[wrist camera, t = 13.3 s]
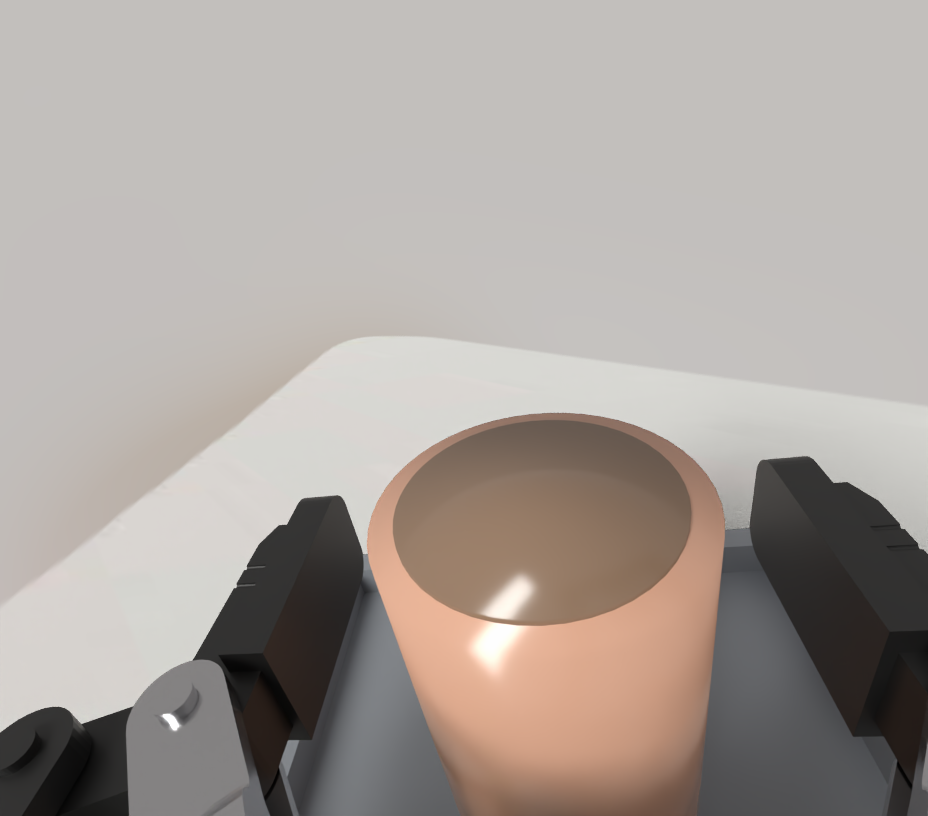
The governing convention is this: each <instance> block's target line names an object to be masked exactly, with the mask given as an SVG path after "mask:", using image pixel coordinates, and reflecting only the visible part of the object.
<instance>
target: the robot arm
mask: <svg viewBox="0 0 928 816" xmlns="http://www.w3.org/2000/svg"><path fill="white" fill-rule="evenodd" d="M750 535H751V541H752V545H753V548H754V551H755V554H756V556H757V558H758V560H759V562H760V564H761V566H762V568H763V570H764V572H765V573H766V575H767V577H768V579H769V581H770V583H771V585H772V587H773V588H774V590H775V592H776V594H777V596H778V598H779V600H780V601H781V603H782V605H783V607H784V609H785V611H786V613H787V615H788V616H789V618H790V620H791V622H792V624H793V626H794V628H795V629H796V631H797V633H798V635H799V637H800V639H801V641H802V643H803V644H804V646H805V648H806V650H807V652H808V654H809V656H810V657H811V659H812V661H813V663H814V665H815V667H816V669H817V670H818V672H819V674H820V676H821V678H822V680H823V682H824V684H825V685H826V687H827V689H828V691H829V693H830V695H831V697H832V698H833V700H834V702H835V704H836V706H837V708H838V710H839V712H840V713H841V715H842V717H843V719H844V721H845V723H846V725H847V726H848V728H849V730H850V732H851V734H852V736H853V737H879V736H884V738H885V740H886V741H887V743H888V745H889V747H890V748H891V750H892V752H893V753H894V755H895V759H894V762H893V765H892V768H891V772H890V777H889V782H888V787H887V792H886V797H885V802H884V807H883V812H882V816H928V554H927V553H926V552H925V551H924V550H923V549H919V547H918V543H917V542H916V541H915V540H914V539H913V538H912V537H911V536H910V535H909V533H908V532H907V531H906V530H905V529H901V528H900V524H899V523H898V521H897V520H896V519H895V518H894V517H893V516H892V515H891V514H890V513H889V512H888V511H887V509H886V508H885V507H884V506H883V505H882V504H881V503H880V502H879V501H878V500H876V499H875V498H873V497H871V496H870V495H868V494H866V493H865V492H863V491H861V490H860V489H858V488H856V487H855V486H853V485H851V484H850V483H848V482H843V483H833V482H832V481H831V480H830V479H829V477H828V476H827V475H826V474H825V473H824V471H823V470H822V469H821V468H820V467H819V465H818V464H817V463H816V462H815V461H814V460H813V459H812V458H810V457H808V456H804V457H792V458H780V459H769V460H762V461H760V462H759V464H758V467H757V472H756V480H755V488H754V496H753V503H752V511H751V519H750ZM363 570H364V560H363V553H362V549H361V546H360V543H359V540H358V537H357V535H356V532H355V529H354V526H353V524H352V521H351V518H350V515H349V513H348V510H347V507H346V504H345V502H344V500H343V499H342V497H340V496H338V495H336V496H325V497H313V498H304V499H302V500H301V501H300V502H299V503H298V505H297V507H296V509H295V511H294V513H293V514H292V516H291V518H290V520H289V522H288V524H287V525H279V526H278V527H277V528H276V529H275V530H273V531H272V532H271V533H270V534H269V535H268V536H267V537H266V538H265V539H264V540H263V541H262V542H261V543H260V544H259V545H258V547H257V549H256V551H255V552H254V554H253V556H252V558H251V559H250V561H249V563H248V565H247V570H244V572H243V573H242V575H241V577H240V579H239V580H238V582H237V588H234V589H233V591H232V593H231V594H230V596H229V598H228V600H227V601H226V603H225V605H224V607H223V609H222V610H221V612H220V614H219V616H218V617H217V619H216V621H215V623H214V624H213V626H212V628H211V630H210V631H209V633H208V635H207V637H206V638H205V640H204V642H203V644H202V645H201V647H200V649H199V651H198V652H197V654H196V656H195V657H194V659H193V661H189V662H186V663H183V664H181V665H179V666H177V667H175V668H173V669H171V670H169V671H168V672H166V673H164V674H163V675H162V676H160V677H159V678H158V679H157V680H155V681H154V682H153V683H152V684H151V685H150V686H149V687H148V688H147V689H146V690H145V691H144V692H143V694H142V695H141V696H140V698H139V699H138V700H137V702H136V703H135V705H134V706H133V707H130V708H127V709H124V710H121V711H119V712H116V713H113V714H110V715H107V716H104V717H101V718H98V719H95V720H92V721H89V722H86V723H84V724H81V723H80V722H79V721H78V720H77V719H76V718H75V717H74V716H73V715H72V714H71V713H70V712H69V711H68V710H67V709H65V708H62V707H49V708H44V709H41V710H38V711H35V712H33V713H31V714H28V715H26V716H25V717H23V718H21V719H19V720H18V721H16V722H14V723H13V724H11V725H10V726H9V727H7V728H6V729H5V730H3V731H2V732H1V733H0V816H299V814H298V811H297V807H296V804H295V801H294V798H293V794H292V791H291V788H290V785H289V781H288V778H287V775H286V771H285V768H284V766H283V764H282V762H281V759H282V756H283V753H284V751H285V748H286V745H287V742H288V740H312V738H313V735H314V732H315V728H316V725H317V722H318V719H319V716H320V712H321V709H322V706H323V703H324V700H325V696H326V693H327V690H328V687H329V684H330V680H331V677H332V674H333V671H334V668H335V664H336V661H337V658H338V655H339V652H340V648H341V645H342V642H343V639H344V636H345V632H346V629H347V626H348V623H349V620H350V616H351V613H352V610H353V607H354V604H355V600H356V597H357V594H358V591H359V588H360V584H361V581H362V577H363Z"/></svg>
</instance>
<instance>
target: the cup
mask: <svg viewBox="0 0 928 816" xmlns="http://www.w3.org/2000/svg"><path fill="white" fill-rule="evenodd" d="M724 541H725V518H724V513H723V508H722V503H721V501H720V498H719V496H718V493H717V491H716V488H715V487H714V485H713V484H712V482H711V480H710V479H709V477H708V476H707V474H706V473H705V472H704V471H703V470H702V468H701V467H700V466H699V465H698V464H697V463H696V462H695V461H694V460H693V459H692V458H691V457H690V456H689V455H687V454H686V453H685V452H684V451H683V450H681V449H680V448H678V447H677V446H675V445H674V444H672V443H671V442H669V441H668V440H666V439H664V438H662V437H660V436H658V435H656V434H654V433H652V432H650V431H648V430H645V429H643V428H640V427H638V426H635V425H632V424H629V423H625V422H622V421H619V420H614V419H610V418H605V417H600V416H593V415H585V414H573V413H542V414H529V415H522V416H515V417H509V418H504V419H500V420H495V421H491V422H488V423H484V424H481V425H478V426H475V427H472V428H469V429H467V430H464V431H461V432H459V433H457V434H455V435H452V436H450V437H448V438H446V439H444V440H442V441H441V442H439V443H437V444H435V445H433V446H432V447H430V448H429V449H427V450H426V451H424V452H423V453H421V454H420V455H418V456H417V457H416V458H415V459H413V460H412V461H411V462H410V463H408V464H407V465H406V466H405V467H404V468H403V469H402V470H401V471H400V472H399V473H398V474H397V475H396V476H395V477H394V478H393V480H392V481H391V482H390V483H389V485H388V486H387V487H386V489H385V490H384V492H383V493H382V495H381V497H380V498H379V500H378V502H377V504H376V506H375V509H374V511H373V513H372V516H371V520H370V524H369V528H368V538H367V550H368V558H369V563H370V567H371V570H372V573H373V576H374V579H375V581H376V584H377V587H378V590H379V593H380V595H381V598H382V601H383V604H384V606H385V609H386V612H387V615H388V617H389V620H390V623H391V626H392V628H393V631H394V634H395V637H396V639H397V642H398V645H399V648H400V650H401V653H402V656H403V659H404V661H405V664H406V667H407V670H408V673H409V675H410V678H411V681H412V684H413V686H414V689H415V692H416V695H417V697H418V700H419V703H420V706H421V708H422V711H423V714H424V717H425V719H426V722H427V725H428V728H429V730H430V733H431V736H432V739H433V741H434V744H435V747H436V750H437V753H438V755H439V758H440V761H441V764H442V766H443V769H444V772H445V775H446V777H447V780H448V783H449V786H450V788H451V791H452V794H453V797H454V799H455V802H456V805H457V808H458V810H459V813H460V816H698V806H699V796H700V786H701V776H702V765H703V755H704V745H705V735H706V725H707V714H708V704H709V694H710V684H711V673H712V663H713V653H714V643H715V633H716V622H717V612H718V602H719V592H720V581H721V571H722V561H723V551H724Z"/></svg>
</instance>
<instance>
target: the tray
mask: <svg viewBox="0 0 928 816" xmlns="http://www.w3.org/2000/svg"><path fill="white" fill-rule="evenodd" d="M363 560H364V570H363V577H362V581H361V584H360V588H359V591H358V594H357V597H356V600H355V604H354V607H353V610H352V613H351V616H350V620H349V623H348V626H347V629H346V632H345V636H344V639H343V642H342V645H341V648H340V652H339V655H338V658H337V661H336V664H335V668H334V671H333V674H332V677H331V680H330V684H329V687H328V690H327V693H326V696H325V700H324V703H323V706H322V709H321V712H320V716H319V719H318V722H317V725H316V728H315V732H314V735H313V738H312V740H288V742H287V745H286V748H285V751H284V753H283V756H282V759H281V762H282V764H283V766H284V768H285V771H286V775H287V778H288V781H289V785H290V788H291V791H292V794H293V798H294V801H295V804H296V807H297V811H298V814H299V816H460V813H459V810H458V808H457V805H456V802H455V799H454V797H453V794H452V791H451V788H450V786H449V783H448V780H447V777H446V775H445V772H444V769H443V766H442V764H441V761H440V758H439V755H438V753H437V750H436V747H435V744H434V741H433V739H432V736H431V733H430V730H429V728H428V725H427V722H426V719H425V717H424V714H423V711H422V708H421V706H420V703H419V700H418V697H417V695H416V692H415V689H414V686H413V684H412V681H411V678H410V675H409V673H408V670H407V667H406V664H405V661H404V659H403V656H402V653H401V650H400V648H399V645H398V642H397V639H396V637H395V634H394V631H393V628H392V626H391V623H390V620H389V617H388V615H387V612H386V609H385V606H384V604H383V601H382V598H381V595H380V593H379V590H378V587H377V584H376V581H375V579H374V576H373V573H372V570H371V567H370V563H369V558H368V554H363ZM894 759H895V755H894V753H893V752H892V750H891V748H890V747H889V745H888V743H887V741H886V740H885V738H884V736H879V737H853V736H852V734H851V732H850V730H849V728H848V726H847V725H846V723H845V721H844V719H843V717H842V715H841V713H840V712H839V710H838V708H837V706H836V704H835V702H834V700H833V698H832V697H831V695H830V693H829V691H828V689H827V687H826V685H825V684H824V682H823V680H822V678H821V676H820V674H819V672H818V670H817V669H816V667H815V665H814V663H813V661H812V659H811V657H810V656H809V654H808V652H807V650H806V648H805V646H804V644H803V643H802V641H801V639H800V637H799V635H798V633H797V631H796V629H795V628H794V626H793V624H792V622H791V620H790V618H789V616H788V615H787V613H786V611H785V609H784V607H783V605H782V603H781V601H780V600H779V598H778V596H777V594H776V592H775V590H774V588H773V587H772V585H771V583H770V581H769V579H768V577H767V575H766V573H765V572H764V570H763V568H762V566H761V564H760V562H759V560H758V558H757V556H756V554H755V551H754V548H753V545H752V541H751V535H750V528H745V529H730V530H725V541H724V551H723V561H722V571H721V581H720V592H719V602H718V612H717V622H716V633H715V643H714V653H713V663H712V673H711V684H710V694H709V704H708V714H707V725H706V735H705V745H704V755H703V765H702V776H701V786H700V796H699V806H698V816H882V812H883V807H884V802H885V797H886V792H887V787H888V782H889V777H890V772H891V768H892V765H893V762H894Z"/></svg>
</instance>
